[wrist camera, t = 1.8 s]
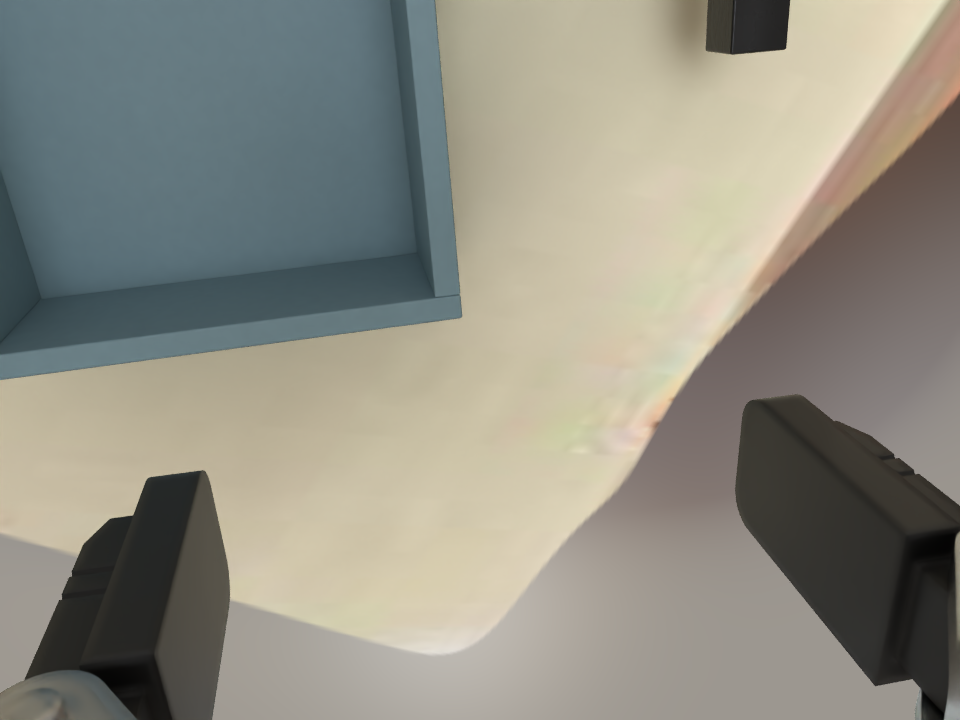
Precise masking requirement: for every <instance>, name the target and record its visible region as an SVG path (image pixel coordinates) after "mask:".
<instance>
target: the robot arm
mask: <svg viewBox="0 0 960 720" xmlns="http://www.w3.org/2000/svg"><path fill="white" fill-rule="evenodd" d="M735 492H736V502H737V507H738V510H739V513H740V516H741V518H742V521H743V523H744V524H745V526H746V528H747V529H748V530H749V531H750V533H751V534H752V535H753V536H754V538H755V539H756V540H757V541H758V542H759V544H760V545H761V546H762V547H763V549H764V550H765V551H766V552H767V554H768V555H769V556H770V557H771V558H772V560H773V561H774V562H775V563H776V564H777V566H778V567H779V568H780V570H781V571H782V572H783V573H784V575H785V576H786V577H787V578H788V579H789V581H791V583H792V584H793V586H794V587H795V588H796V589H797V591H798V592H799V593H800V594H801V595H802V597H803V598H804V599H805V600H806V602H807V603H808V604H809V605H810V606H811V608H812V609H813V610H814V611H815V613H816V614H817V615H818V616H819V618H820V619H821V620H822V621H823V623H824V624H825V625H826V626H827V627H828V629H829V630H830V631H831V632H832V634H833V635H834V636H835V637H836V638H837V640H838V641H839V642H840V643H841V645H842V646H843V647H844V648H845V650H846V651H847V652H848V653H849V654H850V656H851V657H852V658H853V659H854V661H855V662H856V663H857V664H858V666H859V667H860V668H861V669H862V671H863V672H864V673H865V674H866V675H867V677H868V678H869V679H870V680H871V682H872V683H873V684H874V685H875V686H878V685H883V684H888V683H893V682H899V681H905V680H910V679H913V680H914V681H915V682H916V684H917V685H918V686H919V687H920V690H919V694H918V699H917V703H916V708H915V720H960V506H959V505H958V504H957V503H955V502H954V501H953V500H952V499H950V498H949V497H948V496H946V495H945V494H944V493H943V492H941V491H940V490H939V489H937V488H936V487H935V486H934V485H932V484H931V483H930V482H929V481H927V480H926V479H925V478H924V477H922V476H921V475H920V474H915V473H914V470H913V469H912V468H911V467H910V466H908V465H907V464H906V463H905V462H903V461H902V460H901V459H900V458H896V459H895V457H894V454H893V453H892V452H891V451H889V450H888V449H887V448H886V447H884V446H883V445H882V444H880V443H879V442H878V441H877V440H875V439H874V438H873V437H872V436H870V435H868V434H866V433H863V432H861V431H859V430H857V429H854V428H852V427H850V426H847V425H845V424H843V423H841V422H838V421H833V420H832V419H830V418H829V417H828V416H827V415H826V414H824V413H823V412H822V411H821V410H820V409H818V408H817V407H816V406H815V405H813V404H812V403H811V402H810V401H808V400H807V399H806V398H805V397H803V396H801V395H797V394H795V395H788V396H780V397H772V398H764V399H757V400H752V401H749V402H748V403H747V404H746V406H745V408H744V411H743V417H742V425H741V436H740V446H739V456H738V466H737V476H736V487H735ZM229 601H230V583H229V571H228V564H227V559H226V554H225V549H224V545H223V540H222V535H221V531H220V526H219V521H218V517H217V512H216V508H215V503H214V498H213V494H212V489H211V485H210V481H209V478H208V476H207V474H206V472H205V471H203V470H202V471H194V472H187V473H179V474H171V475H164V476H156V477H150V478H148V479H147V480H146V483H145V485H144V488H143V491H142V493H141V496H140V499H139V502H138V504H137V507H136V510H135V512H134V515H133V516H126V517H119V518H112V519H109V520H108V521H107V522H106V523H105V524H104V525H103V526H102V527H101V528H100V529H99V530H98V531H97V532H96V533H95V534H94V535H93V536H92V537H91V538H90V539H89V540H88V541H87V542H86V543H84V545H83V547H82V549H81V552H80V554H79V556H78V558H77V561H76V563H75V565H74V568H73V570H72V577H69V579H68V581H67V584H66V586H65V588H64V590H63V593H62V600H59V602H58V604H57V606H56V609H55V611H54V613H53V616H52V618H51V620H50V622H49V625H48V627H47V630H46V632H45V634H44V636H43V639H42V641H41V643H40V646H39V648H38V650H37V652H36V654H35V657H34V659H33V661H32V664H31V666H30V668H29V671H28V673H27V675H26V677H25V680H24V681H21V682H19V683H17V684H15V685H13V686H11V687H10V688H7V689H6V690H4V691H3V692H1V693H0V720H212V716H213V709H214V702H215V696H216V690H217V682H218V676H219V670H220V663H221V657H222V650H223V643H224V636H225V630H226V623H227V617H228V610H229Z"/></svg>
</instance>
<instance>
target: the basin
mask: <svg viewBox="0 0 960 720" xmlns="http://www.w3.org/2000/svg"><path fill="white" fill-rule="evenodd" d="M461 317H462V309H461V297H460V285H459V273H458V261H457V250H456V238H455V227H454V215H453V204H452V192H451V180H450V169H449V157H448V146H447V134H446V123H445V111H444V99H443V88H442V76H441V65H440V53H439V42H438V30H437V18H436V7H435V0H0V380H4V379H11V378H19V377H26V376H33V375H41V374H48V373H56V372H63V371H71V370H78V369H85V368H93V367H100V366H108V365H115V364H123V363H130V362H138V361H145V360H152V359H160V358H167V357H175V356H182V355H190V354H197V353H204V352H212V351H219V350H227V349H234V348H242V347H249V346H257V345H264V344H271V343H279V342H286V341H294V340H301V339H309V338H316V337H323V336H331V335H338V334H346V333H353V332H361V331H368V330H375V329H383V328H390V327H398V326H405V325H413V324H420V323H428V322H435V321H442V320H450V319H457V318H461Z"/></svg>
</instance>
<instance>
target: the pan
mask: <svg viewBox="0 0 960 720" xmlns="http://www.w3.org/2000/svg"><path fill="white" fill-rule="evenodd" d="M789 7H790V0H708V11H707V34H706V51H708V52H716V53H723V54H731V55H734V54H744V53H755V52H766V51H776V50H784V49H786V43H787V31H788V19H789Z"/></svg>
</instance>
